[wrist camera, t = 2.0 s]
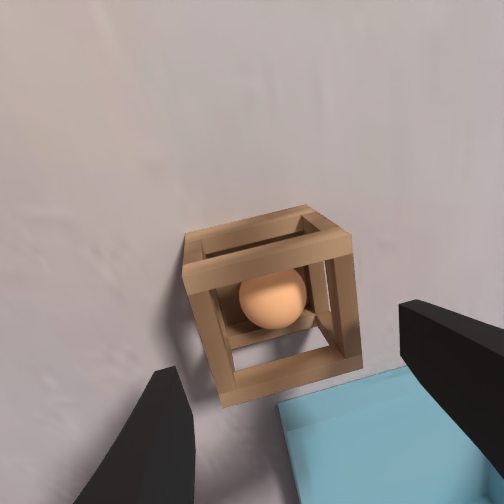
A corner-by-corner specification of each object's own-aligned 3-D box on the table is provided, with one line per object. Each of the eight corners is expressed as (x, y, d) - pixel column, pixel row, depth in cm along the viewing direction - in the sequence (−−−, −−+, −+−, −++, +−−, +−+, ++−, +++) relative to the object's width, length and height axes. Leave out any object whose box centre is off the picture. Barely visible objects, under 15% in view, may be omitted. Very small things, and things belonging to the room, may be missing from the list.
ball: (285, 242, 16) (317, 274, 13) (290, 291, 17) (320, 328, 15) (225, 261, 15) (247, 299, 12) (236, 311, 16) (258, 353, 14)
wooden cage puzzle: (305, 203, 16) (351, 234, 11) (319, 306, 18) (363, 368, 13) (185, 232, 15) (181, 276, 11) (215, 334, 17) (222, 408, 13)
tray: (506, 336, 21) (537, 357, 19) (488, 489, 26) (511, 516, 24) (277, 403, 19) (286, 431, 18) (309, 548, 25) (319, 582, 23)
